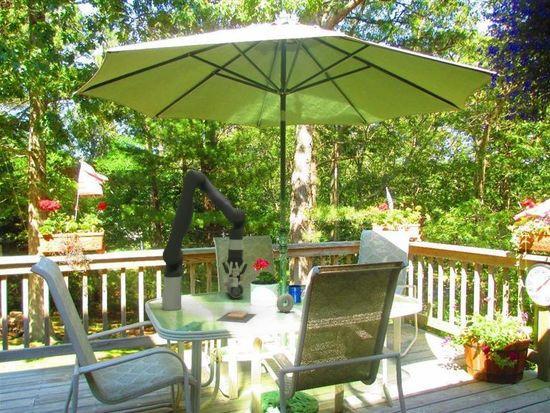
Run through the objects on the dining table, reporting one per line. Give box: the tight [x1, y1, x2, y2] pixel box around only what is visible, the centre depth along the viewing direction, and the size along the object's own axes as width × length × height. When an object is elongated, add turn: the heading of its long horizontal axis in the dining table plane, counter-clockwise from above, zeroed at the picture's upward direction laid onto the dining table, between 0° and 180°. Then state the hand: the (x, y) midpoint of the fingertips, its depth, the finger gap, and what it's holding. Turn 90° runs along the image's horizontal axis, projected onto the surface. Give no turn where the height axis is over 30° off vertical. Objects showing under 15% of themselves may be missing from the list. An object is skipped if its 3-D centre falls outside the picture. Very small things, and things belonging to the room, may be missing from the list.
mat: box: [215, 311, 257, 324], centre depth 229 cm, size 15×18×1 cm
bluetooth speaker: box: [226, 283, 244, 299], centre depth 285 cm, size 23×9×10 cm, turn 10°
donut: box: [276, 292, 295, 314], centre depth 243 cm, size 10×3×10 cm, turn 119°
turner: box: [223, 274, 244, 287], centre depth 239 cm, size 7×16×4 cm, turn 166°
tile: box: [227, 311, 249, 320], centre depth 230 cm, size 8×1×9 cm
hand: (234, 282), depth 238 cm, fingers closed on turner, 3 cm apart
